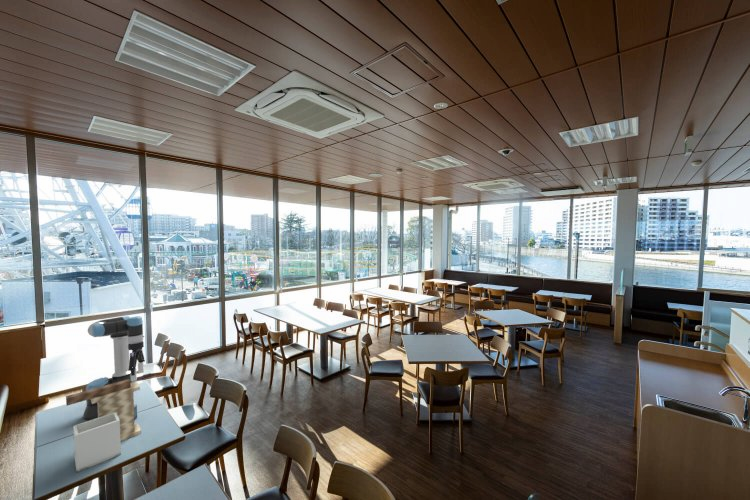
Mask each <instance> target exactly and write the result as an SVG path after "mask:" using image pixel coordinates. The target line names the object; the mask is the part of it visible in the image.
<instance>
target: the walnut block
mask: <svg viewBox="0 0 750 500" xmlns="http://www.w3.org/2000/svg"><path fill="white" fill-rule="evenodd" d="M130 387H131V381H130V379H127V380H124V381H120V382H116V383H113V384H109V385H105V386H102V387H98V388H94V389H90V390H87V391H86V390H84V391H81V392H76V393H72V394H69V395H66V396H65V401H66V403H65V404H66V407H67V406H71V405H74V404H79V403H82V402H84V401H86V400H89V399H92V398H95V397H99V396H102V395H106V394H109V393H113V392H116V391H120V390H123V389H127V388H130Z"/></svg>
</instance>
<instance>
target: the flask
mask: <svg viewBox="0 0 750 500" xmlns="http://www.w3.org/2000/svg"><path fill="white" fill-rule="evenodd" d="M137 419H138V405H137V404H136V403H134V422H135V421H136V420H137Z"/></svg>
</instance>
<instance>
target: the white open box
mask: <svg viewBox="0 0 750 500" xmlns="http://www.w3.org/2000/svg"><path fill="white" fill-rule="evenodd" d="M72 428H73V449H74V450H73V451H74V452H73V453H74V465H75V472H76V473H79V472H81V471H84V470H86V469H89V468H91V467H94V466H96V465H99V464H101V463H104V462H106V461H108V460H111V459H113V458H116V457H118V456H121V455H122V448H121V447H122V445H121V442H122V441H120V420H119V417H118V415H117V413H116V412H114V413H111V414H108V415H105V416H102V417H99V418H96V419H93V420H86V421H84V422H81V423H77V424H75V425H73V427H72Z"/></svg>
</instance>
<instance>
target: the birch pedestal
mask: <svg viewBox="0 0 750 500" xmlns="http://www.w3.org/2000/svg"><path fill="white" fill-rule="evenodd" d="M140 390H141V387H140V384H139V383H138V382H137V381H136V382H133V383H131V387H130V388H127V389H123V390H120V391H116V392H113V393H109V394H106V395H102V396H99V397H95V398H92V399H91V402H92V404H94V403H97V405H98V418H99V417H102V416H105V415H108V414H111V413H114V412H116V413H117V415H118V417H119V420H120V442H122V441H124V440H128V439H130V438H133V437H135V436H138V435H141V434H142V429H141V427H140V425H139V423H136V424H135V421H134V405H135V403H134V402H135V401H134V400H135V399H134V396H135V395H134V392H137V391H140Z"/></svg>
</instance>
